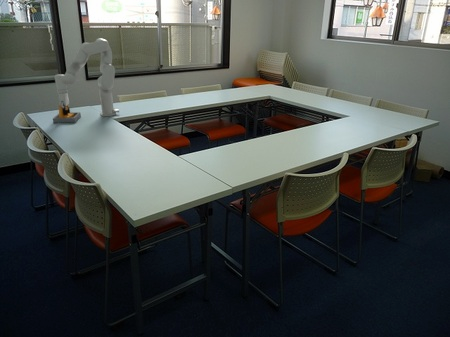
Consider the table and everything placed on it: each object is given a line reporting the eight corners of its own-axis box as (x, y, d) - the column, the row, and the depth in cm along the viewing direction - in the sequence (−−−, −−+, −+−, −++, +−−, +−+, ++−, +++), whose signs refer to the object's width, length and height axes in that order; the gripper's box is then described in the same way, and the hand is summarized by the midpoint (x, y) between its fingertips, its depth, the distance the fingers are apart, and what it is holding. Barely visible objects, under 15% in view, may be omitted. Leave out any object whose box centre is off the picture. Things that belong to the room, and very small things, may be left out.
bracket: (68, 120, 281) (65, 105, 277) (59, 120, 282) (56, 105, 277) (74, 116, 291) (72, 102, 286) (66, 116, 292) (63, 102, 287)
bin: (81, 117, 295) (80, 112, 294) (75, 122, 280) (74, 117, 279) (60, 117, 294) (59, 112, 292) (53, 123, 279) (52, 118, 277)
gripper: (60, 88, 285) (65, 111, 293) (53, 93, 270) (58, 117, 277) (70, 88, 286) (74, 110, 293) (64, 93, 270) (68, 116, 278)
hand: (66, 113), depth 285 cm, fingers closed on bracket, 5 cm apart
